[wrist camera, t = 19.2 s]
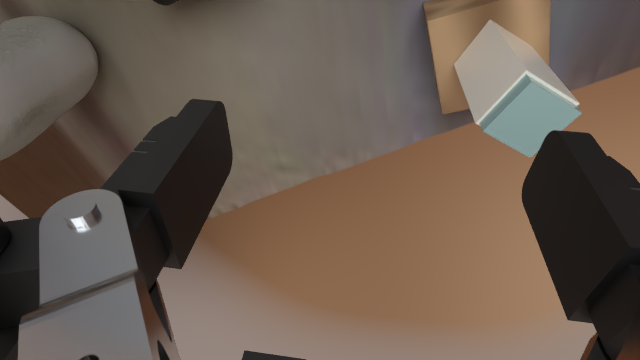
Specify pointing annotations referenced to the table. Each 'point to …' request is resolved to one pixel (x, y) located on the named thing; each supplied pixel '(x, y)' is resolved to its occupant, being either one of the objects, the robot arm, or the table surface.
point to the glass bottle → (40, 76)
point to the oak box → (465, 24)
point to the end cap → (165, 2)
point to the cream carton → (513, 90)
